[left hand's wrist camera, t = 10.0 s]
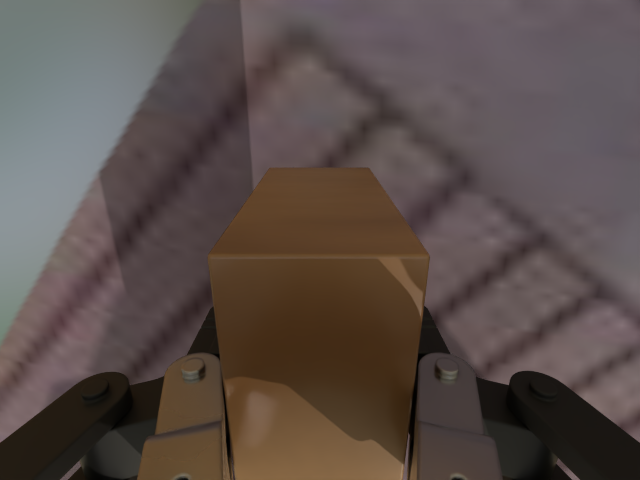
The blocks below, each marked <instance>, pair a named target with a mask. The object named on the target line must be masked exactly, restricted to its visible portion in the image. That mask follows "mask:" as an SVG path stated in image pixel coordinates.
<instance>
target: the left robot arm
mask: <svg viewBox="0 0 640 480" xmlns="http://www.w3.org/2000/svg"><path fill="white" fill-rule="evenodd" d="M409 434H410V438H409V450H408V468H407V480H572V479H571V478H570V477H569V476H568V475H567V474H566V473H565V472H564V471H563V470H562V469H561V468H560V467H559V466H558V465H557V464H556V463H557V460H558V458H559V459H560V460H561V461H562V462H563V463H564V464H565V465H566V466H567V467H568V468H569V469H570V470H571V471H572V472H573V473H574V474H575V475H576V476H577V477H578V478H579V479H580V480H640V443H639V442H638V441H637V440H635V439H634V438H633V437H631V436H630V435H629V434H627V433H626V432H625V431H624V430H622V429H621V428H620V427H618V426H617V425H616V424H615V423H613V422H612V421H611V420H609V419H608V418H607V417H605V416H604V415H603V414H602V413H600V412H599V411H598V410H596V409H595V408H594V407H593V406H591V405H590V404H589V403H587V402H586V401H585V400H583V399H582V398H581V397H580V396H578V395H577V394H576V393H574V392H573V391H572V390H571V389H569V388H568V387H567V386H565V385H564V384H563V383H561V382H560V381H558V380H556V379H555V378H553V377H550V376H548V375H545V374H542V373H539V372H534V371H521V372H517V373H515V374H514V375H513V376H512V377H511V379H510V383H509V385H505V384H501V383H497V382H492V381H488V380H484V379H480V378H478V377H476V376H475V373H474V371H473V369H472V368H471V366H470V365H469V364H468V363H467V362H465V361H464V360H462V359H460V358H459V357H456V356H454V355H451V354H450V352H449V350H448V348H447V346H446V344H445V342H444V340H443V338H442V337H441V335H440V333H439V331H438V329H437V328H436V325H435V323H434V321H433V320H432V317H431V315H430V313H429V311H428V309H427V308H426V307H425V306H424V309H423V317H422V326H421V334H420V342H419V350H418V358H417V366H416V374H415V383H414V391H413V399H412V407H411V415H410V423H409ZM78 461H80V464H81V467H80V468H79V469H78V470H77V471H76V472H75V473H74V474H73V475H72V476H71V477H70V478H69V479H68V480H233V468H232V450H231V441H230V433H229V425H228V417H227V409H226V401H225V393H224V385H223V377H222V369H221V361H220V353H219V345H218V337H217V329H216V321H215V313H214V306H213V307H212V308H211V309H210V311H209V313H208V315H207V317H206V320H205V321H204V323H203V325H202V328H201V329H200V330H199V332H198V334H197V336H196V338H195V340H194V342H193V344H192V346H191V348H190V350H189V352H188V354H187V355H186V356H184V357H181V358H180V359H178V360H176V361H175V362H173V363H172V364H171V365H170V366H169V368H168V369H167V371H166V373H165V376H163V377H161V378H158V379H155V380H151V381H147V382H143V383H138V384H134V385H129V381H128V378H127V377H126V376H125V375H124V374H121V373H118V372H105V373H100V374H96V375H93V376H91V377H88V378H86V379H84V380H82V381H81V382H79V383H78V384H76V385H75V386H73V387H72V388H71V389H69V390H68V391H67V392H66V393H64V394H63V395H62V396H60V397H59V398H58V399H57V400H55V401H54V402H53V403H51V404H50V405H49V406H47V407H46V408H45V409H44V410H42V411H41V412H40V413H38V414H37V415H36V416H34V417H33V418H32V419H31V420H29V421H28V422H27V423H25V424H24V425H23V426H22V427H20V428H19V429H18V430H16V431H15V432H14V433H12V434H11V435H10V436H9V437H7V438H6V439H5V440H3V441H2V442H1V443H0V480H60V479H61V478H62V477H63V476H64V475H65V474H66V473H67V472H68V471H69V470H70V469H71V468H72V467H73V466H74V465H75V464H76V463H77V462H78Z"/></svg>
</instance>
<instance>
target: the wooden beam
mask: <svg viewBox="0 0 640 480" xmlns="http://www.w3.org/2000/svg"><path fill="white" fill-rule="evenodd" d="M429 260H430V256H429V254H428V252H427V251H426V249H425V248H424V247H423V245H422V244H421V242H420V241H419V239H418V238H417V236H416V235H415V234H414V232H413V231H412V229H411V228H410V226H409V225H408V223H407V222H406V221H405V219H404V218H403V216H402V215H401V213H400V212H399V210H398V209H397V208H396V206H395V205H394V203H393V202H392V200H391V199H390V197H389V196H388V195H387V193H386V192H385V190H384V189H383V187H382V186H381V185H380V183H379V182H378V180H377V179H376V177H375V176H374V174H373V173H372V172H371V170H370V169H369V168H269V169H268V171H267V172H266V174H265V175H264V177H263V178H262V179H261V181H260V182H259V184H258V185H257V186H256V188H255V189H254V191H253V192H252V194H251V195H250V196H249V198H248V199H247V201H246V202H245V203H244V205H243V206H242V208H241V209H240V210H239V212H238V213H237V215H236V216H235V218H234V219H233V220H232V222H231V223H230V225H229V226H228V227H227V229H226V230H225V232H224V233H223V235H222V236H221V237H220V239H219V240H218V242H217V243H216V244H215V246H214V247H213V249H212V250H211V251H210V253H209V254H208V265H209V273H210V281H211V289H212V297H213V305H214V313H215V321H216V329H217V337H218V345H219V353H220V361H221V369H222V377H223V385H224V393H225V401H226V409H227V417H228V425H229V433H230V441H231V450H232V458H233V466H234V474H235V480H403V472H404V464H405V456H406V448H407V440H408V431H409V423H410V415H411V407H412V399H413V391H414V383H415V374H416V366H417V358H418V350H419V342H420V334H421V326H422V317H423V309H424V301H425V293H426V285H427V277H428V269H429Z"/></svg>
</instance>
